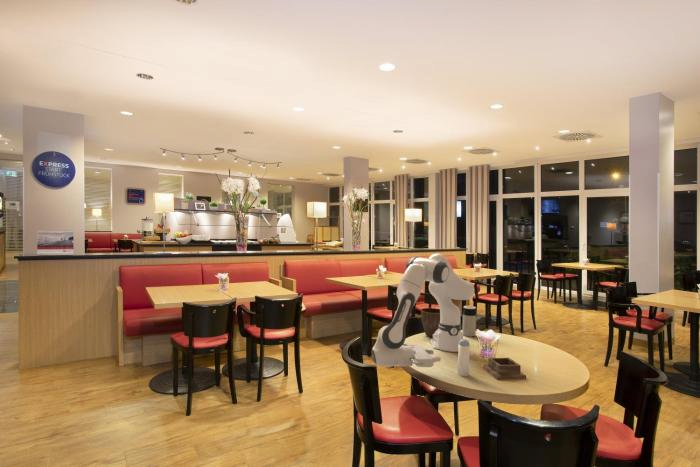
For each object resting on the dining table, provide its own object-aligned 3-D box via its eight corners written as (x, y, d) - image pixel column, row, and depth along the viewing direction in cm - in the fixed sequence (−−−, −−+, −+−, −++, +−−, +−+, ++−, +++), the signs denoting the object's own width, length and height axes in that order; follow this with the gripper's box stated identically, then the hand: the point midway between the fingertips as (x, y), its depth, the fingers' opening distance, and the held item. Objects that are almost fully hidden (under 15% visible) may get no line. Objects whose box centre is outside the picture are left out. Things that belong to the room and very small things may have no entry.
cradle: (482, 368, 190) (483, 356, 190) (510, 367, 192) (510, 356, 192) (497, 379, 176) (497, 367, 176) (526, 378, 178) (526, 366, 178)
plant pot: (436, 331, 253) (437, 307, 253) (449, 338, 239) (449, 312, 239) (415, 333, 249) (416, 308, 249) (427, 340, 235) (427, 313, 234)
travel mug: (478, 336, 245) (479, 307, 245) (469, 337, 241) (469, 308, 241) (468, 332, 252) (469, 305, 252) (459, 334, 248) (460, 306, 248)
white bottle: (456, 372, 184) (456, 337, 184) (466, 372, 185) (467, 337, 184) (460, 376, 179) (461, 341, 179) (470, 376, 180) (471, 340, 179)
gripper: (413, 356, 168) (444, 356, 169) (401, 342, 188) (429, 342, 190) (413, 371, 168) (444, 370, 170) (401, 355, 188) (429, 354, 190)
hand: (436, 355), depth 180 cm, fingers open, 8 cm apart
